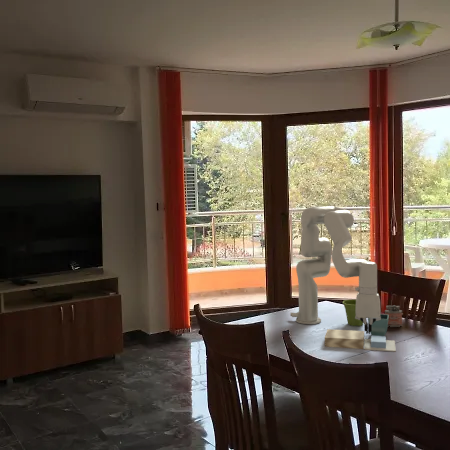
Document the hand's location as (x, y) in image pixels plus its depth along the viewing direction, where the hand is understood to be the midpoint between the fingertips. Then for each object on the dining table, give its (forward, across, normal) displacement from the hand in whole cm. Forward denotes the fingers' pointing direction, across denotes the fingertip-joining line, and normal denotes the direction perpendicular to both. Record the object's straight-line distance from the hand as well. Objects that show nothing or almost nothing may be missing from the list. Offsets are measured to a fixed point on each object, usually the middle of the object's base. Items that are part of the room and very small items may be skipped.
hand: (368, 332), depth 218 cm
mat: (+5, +5, 0) cm, 7 cm away
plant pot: (+5, -7, +32) cm, 33 cm away
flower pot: (+5, +4, +15) cm, 16 cm away
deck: (+5, -10, 0) cm, 11 cm away
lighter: (+5, +11, +33) cm, 35 cm away
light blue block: (+4, +4, 0) cm, 6 cm away
